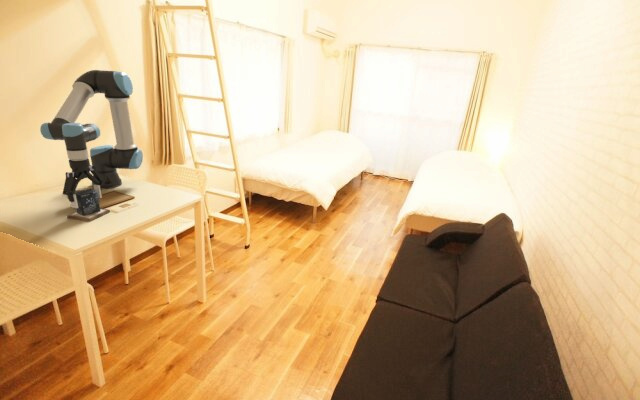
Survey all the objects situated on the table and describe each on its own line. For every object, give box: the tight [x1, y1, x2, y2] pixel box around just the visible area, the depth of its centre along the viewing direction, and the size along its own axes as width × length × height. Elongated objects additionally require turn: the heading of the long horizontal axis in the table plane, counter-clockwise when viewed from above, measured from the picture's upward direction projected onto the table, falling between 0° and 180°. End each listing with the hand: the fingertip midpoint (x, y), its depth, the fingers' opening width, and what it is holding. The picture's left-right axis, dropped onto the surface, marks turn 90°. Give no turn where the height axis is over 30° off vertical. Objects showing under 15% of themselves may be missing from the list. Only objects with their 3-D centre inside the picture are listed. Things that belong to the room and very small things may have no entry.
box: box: [74, 188, 101, 216], centre depth 157 cm, size 8×6×11 cm
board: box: [66, 207, 111, 222], centre depth 158 cm, size 12×12×1 cm
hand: (87, 202), depth 157 cm, fingers open, 13 cm apart
